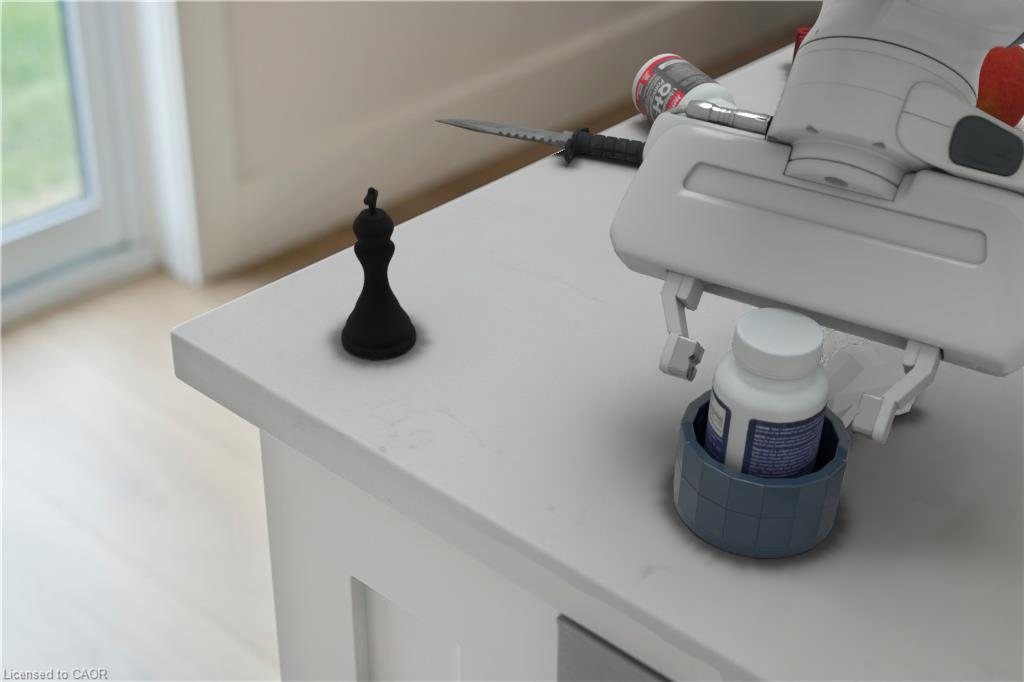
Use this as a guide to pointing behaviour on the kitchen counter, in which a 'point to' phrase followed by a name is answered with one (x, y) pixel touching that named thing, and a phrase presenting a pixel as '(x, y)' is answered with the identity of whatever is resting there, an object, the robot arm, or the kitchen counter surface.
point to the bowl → (757, 493)
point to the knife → (560, 139)
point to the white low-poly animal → (862, 376)
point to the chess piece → (376, 291)
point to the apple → (1002, 85)
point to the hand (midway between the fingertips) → (768, 405)
